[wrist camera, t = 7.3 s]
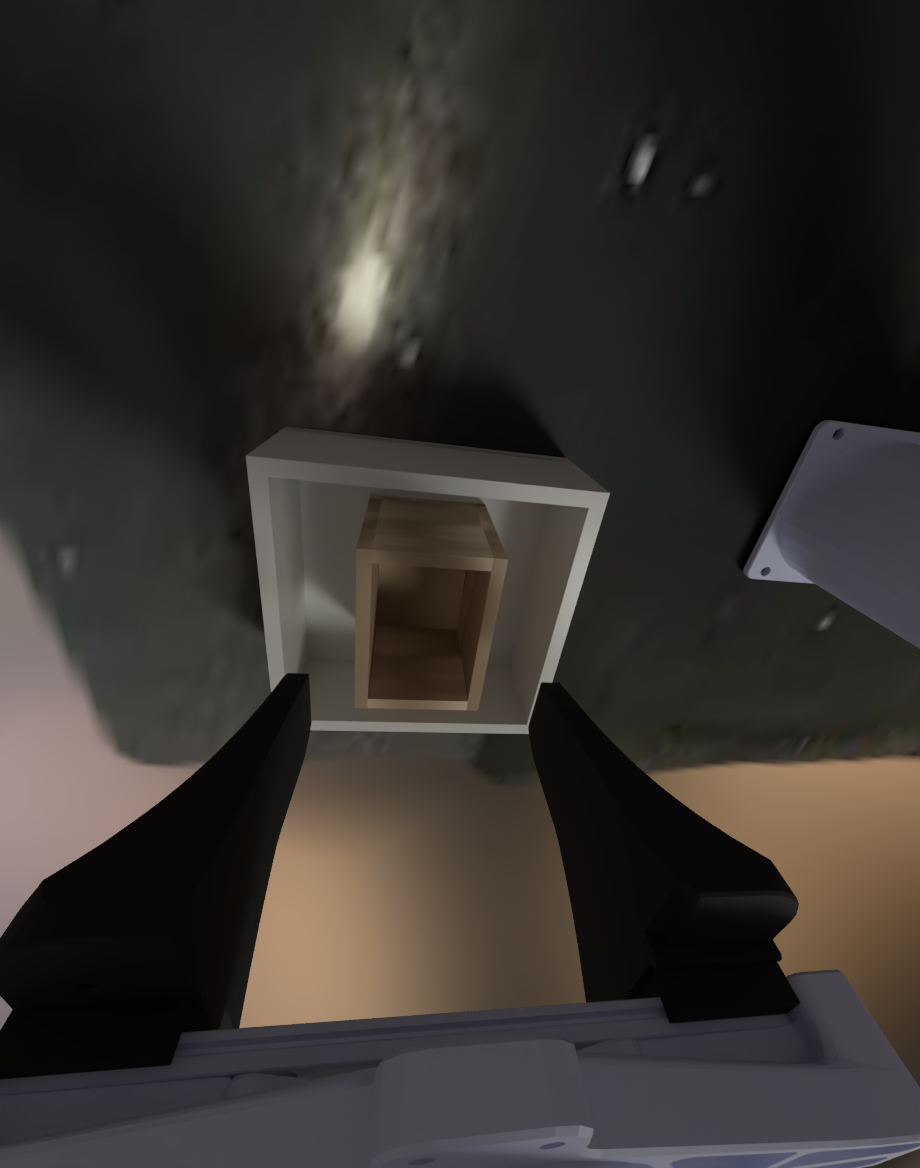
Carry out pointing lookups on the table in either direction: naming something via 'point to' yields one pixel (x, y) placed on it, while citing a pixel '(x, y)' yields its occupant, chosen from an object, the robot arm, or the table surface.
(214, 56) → the table surface
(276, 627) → the storage crate
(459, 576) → the wood crate
